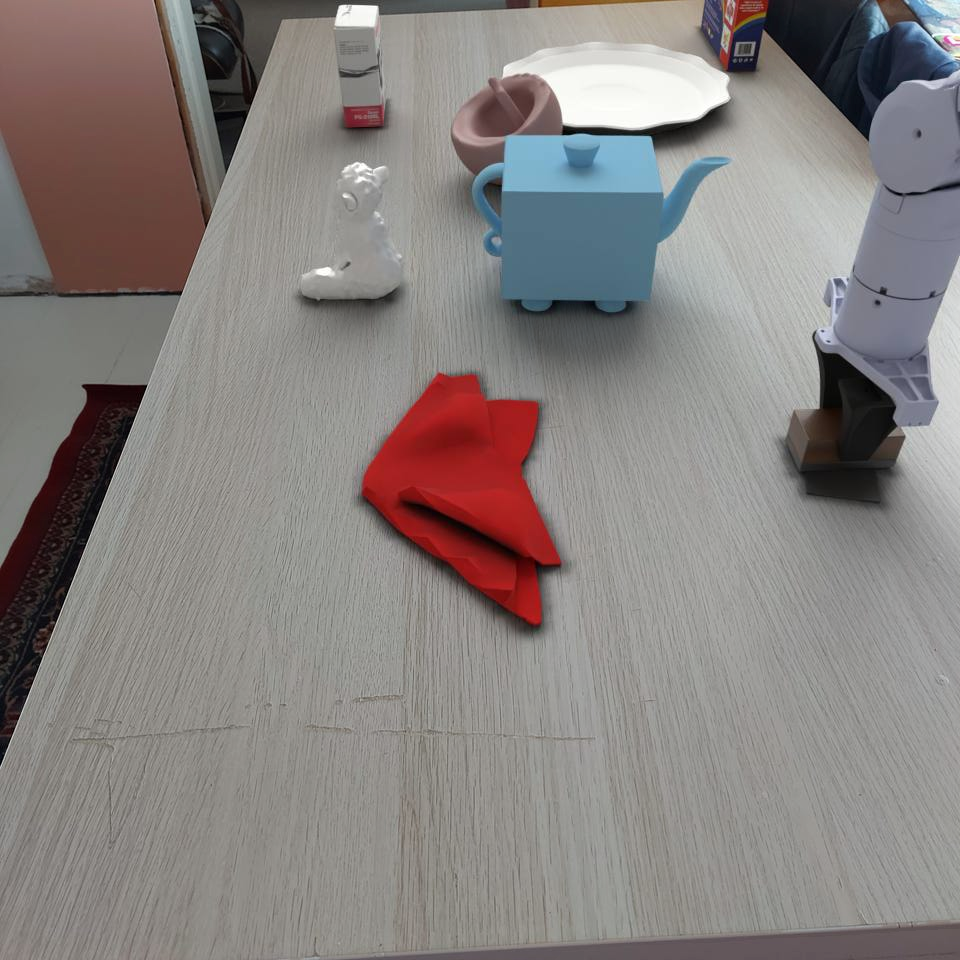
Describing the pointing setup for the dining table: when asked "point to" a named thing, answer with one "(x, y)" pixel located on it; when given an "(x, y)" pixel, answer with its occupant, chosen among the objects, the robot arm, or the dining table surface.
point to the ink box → (360, 65)
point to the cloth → (467, 489)
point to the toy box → (735, 31)
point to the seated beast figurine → (358, 242)
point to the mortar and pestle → (503, 119)
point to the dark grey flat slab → (844, 484)
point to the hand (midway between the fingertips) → (843, 439)
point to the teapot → (582, 217)
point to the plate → (626, 87)
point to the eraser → (832, 442)
